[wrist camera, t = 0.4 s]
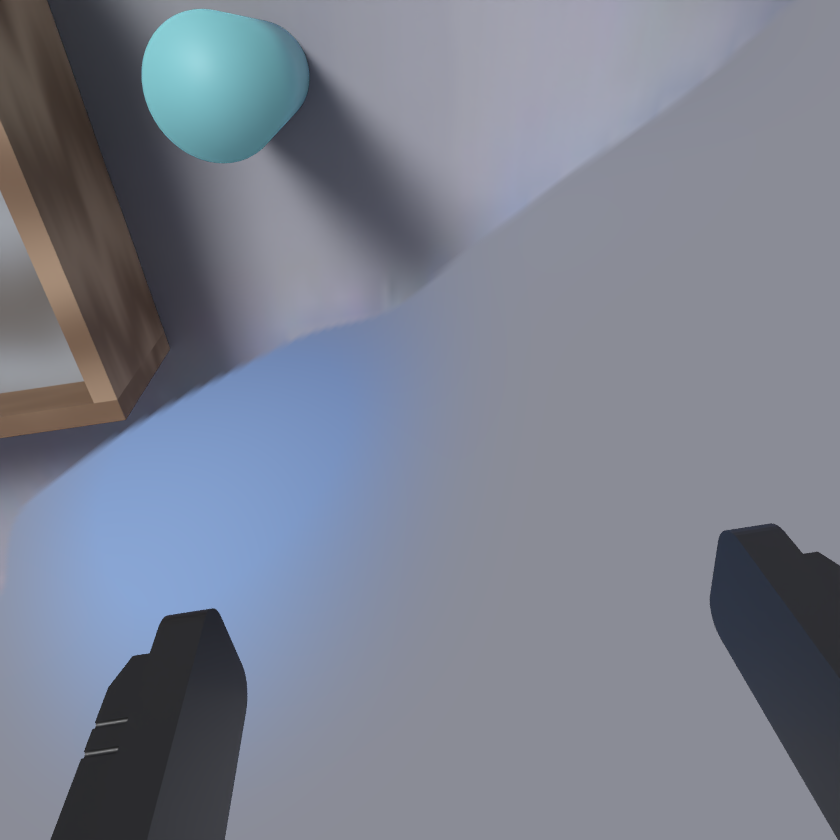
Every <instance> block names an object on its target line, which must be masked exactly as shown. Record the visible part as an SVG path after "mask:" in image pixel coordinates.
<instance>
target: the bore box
mask: <svg viewBox="0 0 840 840" xmlns="http://www.w3.org/2000/svg"><path fill="white" fill-rule="evenodd" d="M169 350H170V347H169V344H168V341H167V338H166V335H165V333H164V330H163V327H162V324H161V321H160V318H159V316H158V313H157V310H156V307H155V304H154V301H153V299H152V296H151V293H150V290H149V287H148V284H147V282H146V279H145V276H144V273H143V270H142V267H141V265H140V262H139V259H138V256H137V253H136V251H135V248H134V245H133V242H132V239H131V236H130V234H129V231H128V228H127V225H126V222H125V219H124V217H123V214H122V211H121V208H120V205H119V202H118V200H117V197H116V194H115V191H114V188H113V185H112V183H111V180H110V177H109V174H108V171H107V168H106V166H105V163H104V160H103V157H102V154H101V151H100V149H99V146H98V143H97V140H96V137H95V135H94V132H93V129H92V126H91V123H90V120H89V118H88V115H87V112H86V109H85V106H84V103H83V101H82V98H81V95H80V92H79V89H78V86H77V84H76V81H75V78H74V75H73V72H72V69H71V67H70V64H69V61H68V58H67V55H66V52H65V50H64V47H63V44H62V41H61V38H60V35H59V33H58V30H57V27H56V24H55V21H54V19H53V16H52V13H51V10H50V7H49V4H48V2H47V0H0V438H5V437H12V436H19V435H26V434H33V433H39V432H46V431H53V430H60V429H67V428H74V427H81V426H87V425H94V424H101V423H108V422H115V421H122V420H126V419H127V417H128V415H129V414H130V412H131V411H132V409H133V407H134V406H135V404H136V403H137V401H138V399H139V398H140V396H141V395H142V393H143V391H144V390H145V388H146V387H147V385H148V383H149V382H150V380H151V379H152V377H153V376H154V374H155V372H156V371H157V369H158V368H159V366H160V364H161V363H162V361H163V360H164V358H165V356H166V355H167V353H168V352H169Z"/></svg>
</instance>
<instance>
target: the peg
mask: <svg viewBox="0 0 840 840" xmlns="http://www.w3.org/2000/svg"><path fill="white" fill-rule="evenodd" d="M309 81H310V76H309V67H308V63H307V59H306V57H305V54H304V52H303V50H302V48H301V46H300V45H299V43H298V42H297V41H296V39H295V38H294V37H293V36H292V35H291V34H290V33H289V32H288V31H286V30H285V29H284V28H282V27H280V26H279V25H277V24H274V23H272V22H268V21H264V20H259V19H254V18H249V17H245V16H240V15H235V14H230V13H225V12H220V11H215V10H208V9H194V10H189V11H184V12H182V13H179V14H177V15H174V16H173V17H171V18H169V19H168V20H166V21H165V22H164V23H163V24H162V25H161V26H160V27H159V28H158V29H157V30H156V31H155V33H154V34H153V36H152V37H151V39H150V41H149V43H148V45H147V48H146V50H145V54H144V57H143V63H142V86H143V92H144V96H145V100H146V103H147V105H148V108H149V111H150V113H151V115H152V117H153V119H154V120H155V122H156V123H157V125H158V126H159V128H160V129H161V130H162V132H163V133H164V134H165V135H166V136H167V137H168V138H169V139H170V140H171V141H172V142H173V143H174V144H175V145H176V146H178V147H179V148H180V149H181V150H183V151H185V152H186V153H188V154H190V155H192V156H194V157H196V158H199V159H202V160H205V161H209V162H214V163H233V162H237V161H241V160H244V159H247V158H249V157H251V156H253V155H254V154H256V153H257V152H259V151H260V150H261V149H262V148H263V147H264V146H265V145H266V144H267V143H268V142H269V141H270V140H271V139H272V138H273V137H274V136H275V135H276V134H277V132H278V131H279V130H280V129H281V128H282V127H283V126H284V125H285V124H286V123H287V122H288V121H289V120H290V118H291V117H292V116H293V115H294V114H295V113H296V112H297V111H298V110H299V109H300V107H301V106H302V104H303V102H304V101H305V98H306V96H307V93H308V89H309Z"/></svg>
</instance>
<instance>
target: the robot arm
mask: <svg viewBox="0 0 840 840" xmlns="http://www.w3.org/2000/svg"><path fill="white" fill-rule="evenodd" d="M710 608H711V614H712V618H713V621H714V625H715V627H716V630H717V632H718V634H719V636H720V638H721V640H722V642H723V643H724V645H725V647H726V648H727V650H728V651H729V654H730V655H731V657H732V659H733V660H734V662H735V664H736V666H737V667H738V669H739V671H740V672H741V674H742V676H743V677H744V679H745V681H746V683H747V684H748V686H749V688H750V690H751V691H752V693H753V695H754V696H755V698H756V700H757V702H758V703H759V705H760V707H761V708H762V710H763V712H764V714H765V715H766V717H767V719H768V720H769V722H770V724H771V726H772V727H773V729H774V731H775V732H776V734H777V736H778V737H779V739H780V741H781V743H782V744H783V746H784V748H785V749H786V751H787V753H788V754H789V756H790V758H791V760H792V762H793V763H794V765H795V767H796V768H797V770H798V772H799V774H800V775H801V777H802V779H803V780H804V782H805V784H806V786H807V787H808V789H809V791H810V792H811V794H812V796H813V797H814V799H815V801H816V803H817V804H818V806H819V808H820V810H821V811H822V813H823V815H824V816H825V818H826V820H827V822H828V823H829V825H830V827H831V828H832V830H833V832H834V834H835V835H836V837H837V839H838V840H840V566H839V565H838V564H836V563H835V562H833V561H832V560H830V559H828V558H827V557H825V556H824V555H822V554H821V553H819V552H813V553H806V554H803V553H802V552H801V551H800V550H799V549H798V547H797V546H796V545H795V544H794V543H793V541H792V540H791V539H790V538H789V537H788V536H787V534H786V533H785V532H784V531H783V530H782V529H781V528H780V527H779V526H777V525H775V524H765V525H759V526H752V527H745V528H739V529H732V530H726V531H723V532H722V533H721V534H720V536H719V540H718V546H717V552H716V559H715V566H714V572H713V580H712V586H711V594H710ZM246 708H247V682H246V676H245V672H244V669H243V666H242V663H241V661H240V659H239V657H238V654H237V652H236V650H235V647H234V645H233V643H232V641H231V638H230V636H229V634H228V632H227V629H226V627H225V625H224V622H223V620H222V618H221V616H220V614H219V612H218V611H217V610H216V609H206V610H200V611H193V612H187V613H181V614H174V615H168V616H165V617H164V618H163V619H162V621H161V623H160V625H159V627H158V630H157V633H156V637H155V639H154V642H153V646H152V649H151V651H150V653H149V654H142V655H136V656H133V657H132V658H131V659H130V660H129V662H128V663H127V664H126V665H125V667H124V668H123V669H122V671H121V672H120V673H119V674H118V676H117V677H116V679H115V680H114V681H113V682H112V683H111V685H110V686H109V687H108V690H107V692H106V695H105V698H104V700H103V703H102V706H101V708H100V711H99V713H98V716H97V719H96V721H95V723H96V727H95V729H93V730H92V732H91V735H90V737H89V740H88V742H87V745H86V748H85V751H84V752H85V757H84V758H83V759H81V761H80V763H79V766H78V769H77V771H76V774H75V777H74V780H73V782H72V785H71V787H70V790H69V792H68V795H67V798H66V800H65V803H64V806H63V808H62V811H61V813H60V816H59V819H58V821H57V824H56V827H55V829H54V832H53V834H52V837H51V840H225V834H226V828H227V822H228V816H229V810H230V804H231V798H232V792H233V786H234V780H235V774H236V768H237V762H238V756H239V750H240V744H241V738H242V731H243V726H244V720H245V714H246Z"/></svg>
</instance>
